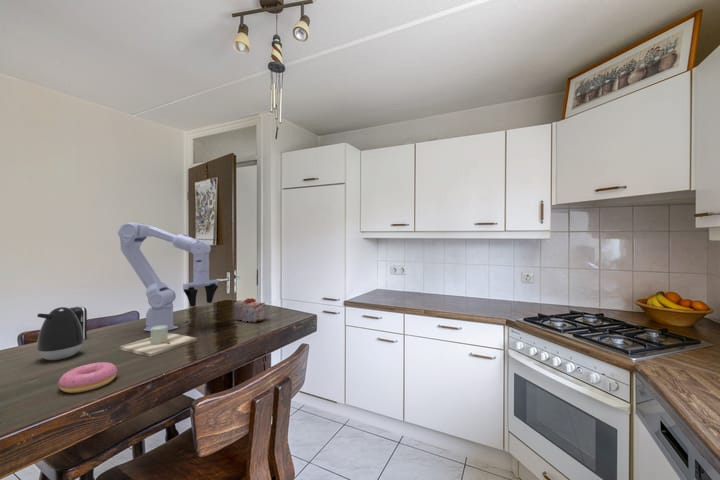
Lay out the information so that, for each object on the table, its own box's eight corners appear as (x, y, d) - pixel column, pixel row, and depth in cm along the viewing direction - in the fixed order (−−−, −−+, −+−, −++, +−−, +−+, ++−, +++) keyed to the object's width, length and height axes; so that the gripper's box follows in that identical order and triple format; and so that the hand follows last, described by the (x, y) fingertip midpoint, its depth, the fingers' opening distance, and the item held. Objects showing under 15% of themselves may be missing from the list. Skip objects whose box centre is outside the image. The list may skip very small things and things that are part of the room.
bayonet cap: (157, 345, 99) (157, 330, 99) (146, 342, 102) (146, 327, 102) (172, 341, 103) (172, 326, 103) (161, 338, 106) (161, 324, 106)
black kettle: (27, 361, 89) (27, 309, 89) (71, 349, 99) (71, 302, 99) (48, 366, 86) (47, 312, 86) (91, 353, 95) (91, 305, 95)
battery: (65, 339, 109) (65, 307, 109) (78, 336, 112) (78, 305, 112) (73, 342, 106) (73, 309, 106) (87, 339, 109) (87, 307, 109)
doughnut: (48, 390, 72) (48, 372, 72) (102, 371, 82) (102, 356, 82) (72, 399, 68) (72, 381, 68) (127, 379, 78) (127, 363, 78)
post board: (119, 349, 99) (119, 337, 99) (167, 335, 113) (167, 324, 113) (150, 356, 92) (150, 343, 92) (197, 340, 107) (197, 329, 107)
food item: (267, 319, 135) (267, 297, 135) (255, 324, 128) (255, 301, 128) (243, 317, 140) (243, 295, 140) (230, 321, 133) (230, 298, 133)
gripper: (191, 273, 115) (191, 309, 115) (223, 269, 128) (223, 301, 128) (179, 272, 118) (179, 307, 118) (211, 269, 131) (211, 300, 131)
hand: (201, 304), depth 123 cm, fingers open, 7 cm apart
